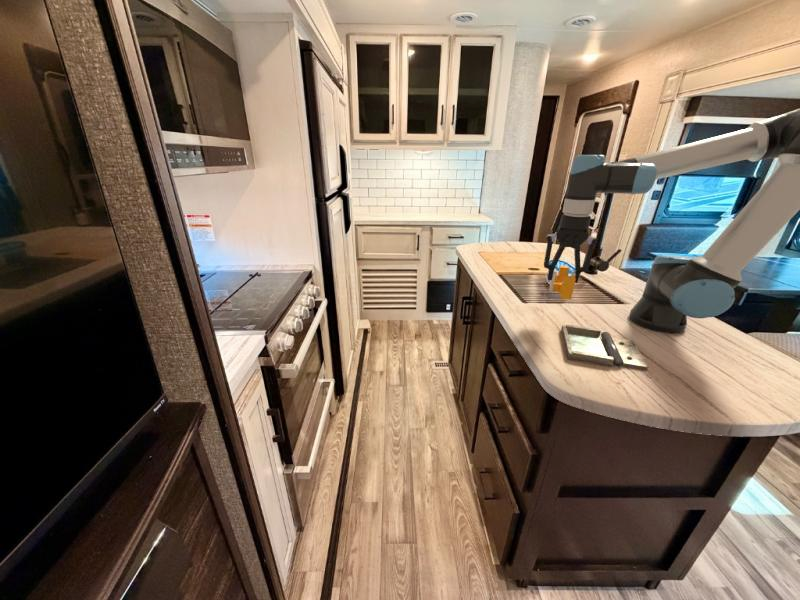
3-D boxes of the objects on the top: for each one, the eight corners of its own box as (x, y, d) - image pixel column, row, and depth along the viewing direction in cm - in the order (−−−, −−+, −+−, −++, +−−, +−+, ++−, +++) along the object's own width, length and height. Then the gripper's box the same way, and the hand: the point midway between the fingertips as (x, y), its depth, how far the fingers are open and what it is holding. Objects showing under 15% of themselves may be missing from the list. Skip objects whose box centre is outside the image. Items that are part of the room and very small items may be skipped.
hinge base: (630, 341, 97) (632, 334, 96) (649, 373, 82) (652, 365, 81) (561, 330, 102) (562, 324, 101) (567, 359, 88) (569, 352, 87)
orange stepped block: (549, 283, 106) (553, 265, 103) (564, 285, 105) (568, 266, 102) (555, 297, 96) (559, 277, 93) (571, 299, 94) (575, 278, 92)
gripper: (609, 214, 91) (589, 290, 101) (542, 211, 97) (529, 283, 106) (615, 218, 85) (594, 299, 94) (543, 214, 90) (529, 291, 100)
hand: (560, 290), depth 100 cm, fingers closed on orange stepped block, 5 cm apart
